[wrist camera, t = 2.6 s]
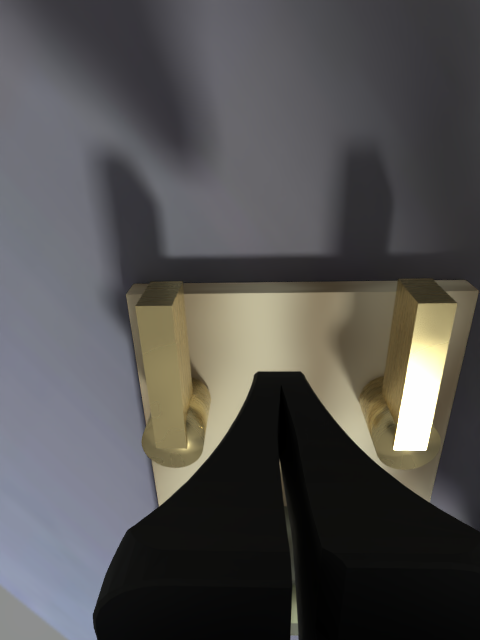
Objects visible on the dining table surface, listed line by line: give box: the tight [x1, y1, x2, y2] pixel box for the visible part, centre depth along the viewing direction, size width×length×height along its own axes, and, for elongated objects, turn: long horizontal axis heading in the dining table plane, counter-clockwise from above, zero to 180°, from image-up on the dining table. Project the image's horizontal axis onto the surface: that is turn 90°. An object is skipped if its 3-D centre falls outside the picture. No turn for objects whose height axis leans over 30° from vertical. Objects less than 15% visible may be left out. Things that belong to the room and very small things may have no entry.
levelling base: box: [126, 280, 479, 635], centre depth 21 cm, size 14×20×5 cm
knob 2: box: [359, 278, 457, 470], centre depth 16 cm, size 2×7×3 cm, turn 1°
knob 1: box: [135, 281, 211, 468], centre depth 17 cm, size 2×7×3 cm, turn 1°
